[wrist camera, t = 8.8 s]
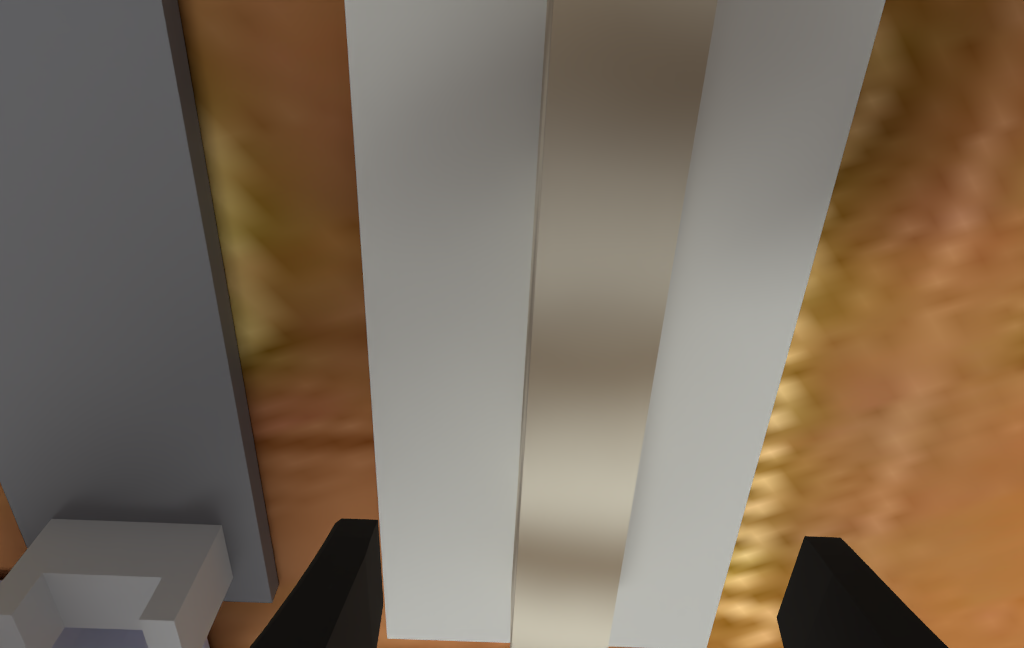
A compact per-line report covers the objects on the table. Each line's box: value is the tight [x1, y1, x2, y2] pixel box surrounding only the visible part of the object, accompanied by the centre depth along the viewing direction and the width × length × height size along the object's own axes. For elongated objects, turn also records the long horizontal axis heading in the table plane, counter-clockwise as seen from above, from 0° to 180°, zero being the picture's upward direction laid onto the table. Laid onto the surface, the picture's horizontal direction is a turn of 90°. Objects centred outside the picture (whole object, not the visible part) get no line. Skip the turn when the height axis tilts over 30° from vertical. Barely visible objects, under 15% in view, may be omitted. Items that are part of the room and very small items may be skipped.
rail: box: [510, 0, 718, 648], centre depth 18 cm, size 23×3×3 cm, turn 178°
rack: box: [0, 0, 279, 648], centre depth 18 cm, size 24×8×4 cm, turn 178°
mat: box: [345, 0, 886, 648], centre depth 20 cm, size 28×12×1 cm, turn 178°
